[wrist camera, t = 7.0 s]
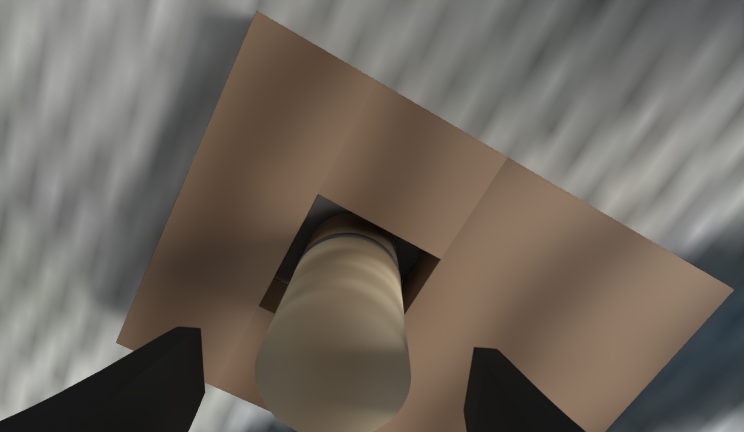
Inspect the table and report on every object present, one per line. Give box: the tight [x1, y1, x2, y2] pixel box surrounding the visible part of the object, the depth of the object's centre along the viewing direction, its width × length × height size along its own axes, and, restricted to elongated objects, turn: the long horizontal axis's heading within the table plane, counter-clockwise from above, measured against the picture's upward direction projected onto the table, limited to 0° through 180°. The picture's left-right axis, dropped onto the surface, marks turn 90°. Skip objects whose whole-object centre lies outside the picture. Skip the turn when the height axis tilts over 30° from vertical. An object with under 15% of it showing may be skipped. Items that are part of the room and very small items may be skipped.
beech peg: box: [254, 213, 411, 432], centre depth 14 cm, size 4×4×8 cm
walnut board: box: [116, 11, 734, 432], centre depth 17 cm, size 20×14×2 cm
